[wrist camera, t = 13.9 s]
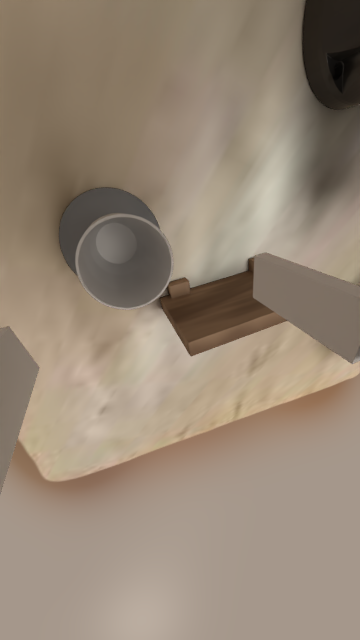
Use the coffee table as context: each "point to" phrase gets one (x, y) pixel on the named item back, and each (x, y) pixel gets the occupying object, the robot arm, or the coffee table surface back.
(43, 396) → the coffee table surface
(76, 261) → the cup
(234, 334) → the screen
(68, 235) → the coaster
